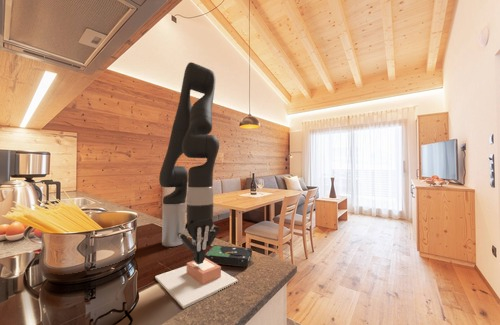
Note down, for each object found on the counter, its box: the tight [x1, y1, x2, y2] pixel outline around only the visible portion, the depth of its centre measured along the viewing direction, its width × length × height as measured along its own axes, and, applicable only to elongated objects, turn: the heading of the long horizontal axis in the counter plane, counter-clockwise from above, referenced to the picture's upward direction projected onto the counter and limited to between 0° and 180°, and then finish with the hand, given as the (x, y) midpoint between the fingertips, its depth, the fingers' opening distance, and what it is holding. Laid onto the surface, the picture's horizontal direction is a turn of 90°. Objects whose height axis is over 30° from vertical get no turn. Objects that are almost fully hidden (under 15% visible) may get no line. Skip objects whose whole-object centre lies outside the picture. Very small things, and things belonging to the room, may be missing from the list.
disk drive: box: [205, 244, 253, 267], centre depth 71 cm, size 10×3×15 cm
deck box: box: [186, 258, 222, 285], centre depth 59 cm, size 9×3×6 cm
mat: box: [154, 265, 239, 310], centre depth 57 cm, size 18×16×1 cm
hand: (199, 262), depth 58 cm, fingers closed
